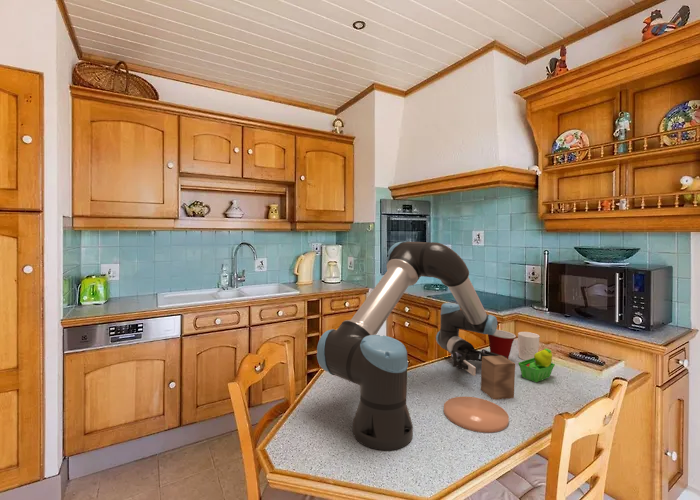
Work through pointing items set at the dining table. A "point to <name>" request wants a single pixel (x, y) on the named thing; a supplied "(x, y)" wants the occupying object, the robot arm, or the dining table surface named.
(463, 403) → the dish
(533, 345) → the white cup
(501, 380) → the walnut block
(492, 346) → the plastic cup
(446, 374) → the dining table surface
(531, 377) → the fruit basket
